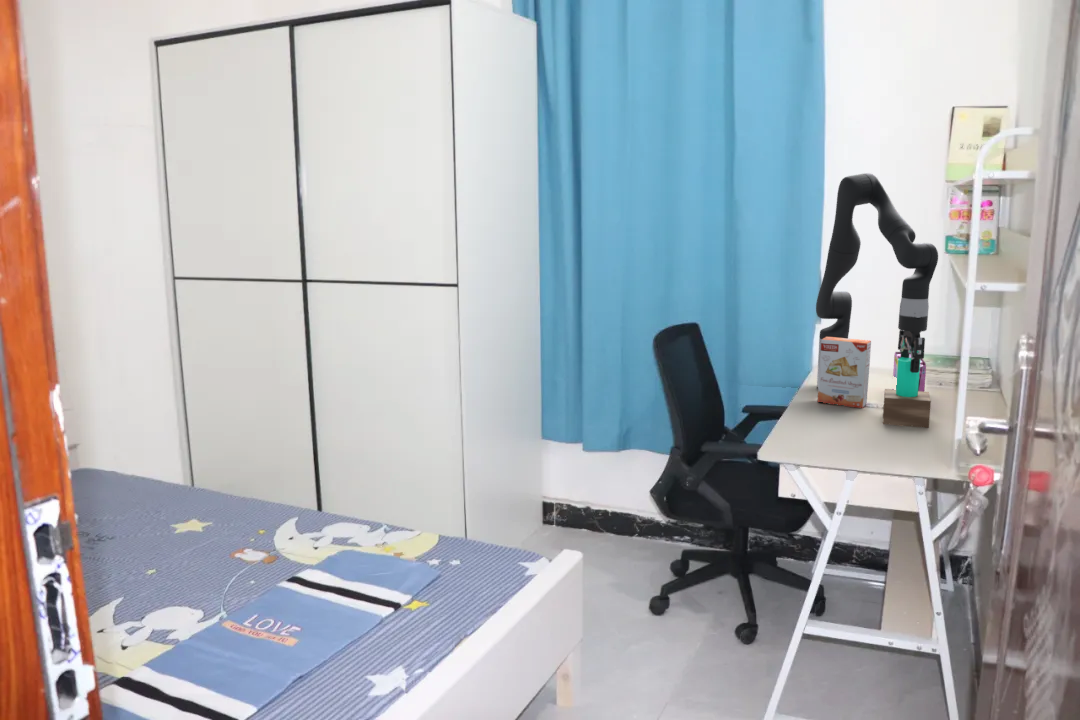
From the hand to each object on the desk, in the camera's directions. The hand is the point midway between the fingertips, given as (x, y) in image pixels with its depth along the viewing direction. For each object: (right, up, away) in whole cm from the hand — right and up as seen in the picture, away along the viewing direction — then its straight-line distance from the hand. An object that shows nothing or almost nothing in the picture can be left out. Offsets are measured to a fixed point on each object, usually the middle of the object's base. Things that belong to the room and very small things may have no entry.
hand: (909, 369), depth 239 cm
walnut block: (0, -15, +3) cm, 16 cm away
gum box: (+12, -10, +29) cm, 33 cm away
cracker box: (-11, -12, +23) cm, 28 cm away
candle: (0, -8, +2) cm, 8 cm away
